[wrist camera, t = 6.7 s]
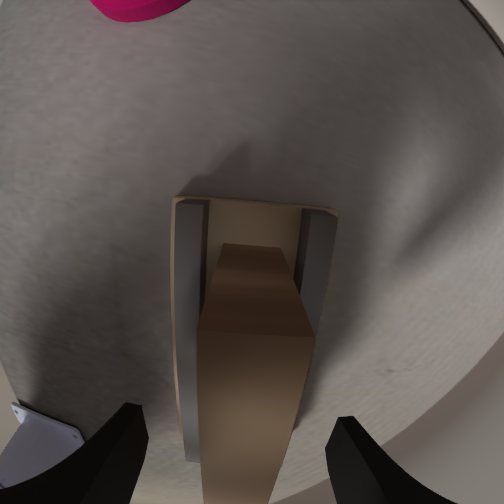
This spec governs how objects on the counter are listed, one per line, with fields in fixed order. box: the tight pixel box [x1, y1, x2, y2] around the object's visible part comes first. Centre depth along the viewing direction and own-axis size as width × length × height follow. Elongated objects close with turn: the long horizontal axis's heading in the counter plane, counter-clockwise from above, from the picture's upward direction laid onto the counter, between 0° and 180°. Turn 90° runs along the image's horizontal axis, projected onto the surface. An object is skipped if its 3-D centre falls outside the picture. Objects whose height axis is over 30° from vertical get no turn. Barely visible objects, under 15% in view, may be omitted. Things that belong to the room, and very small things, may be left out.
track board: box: [170, 195, 339, 466], centre depth 14 cm, size 15×7×3 cm, turn 175°
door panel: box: [196, 243, 315, 504], centre depth 11 cm, size 12×3×7 cm, turn 175°
